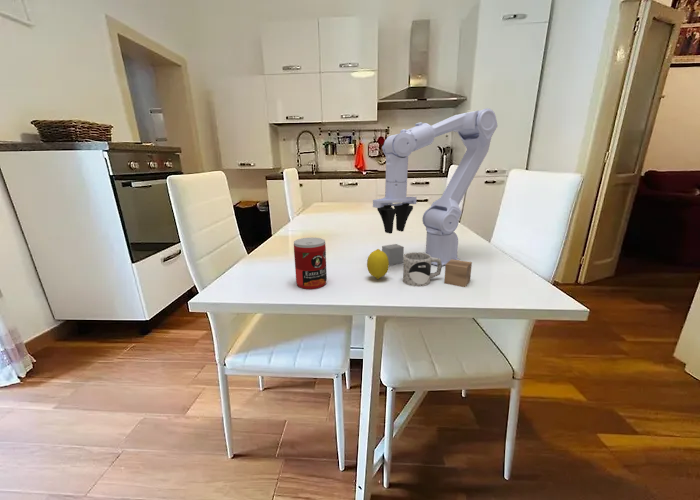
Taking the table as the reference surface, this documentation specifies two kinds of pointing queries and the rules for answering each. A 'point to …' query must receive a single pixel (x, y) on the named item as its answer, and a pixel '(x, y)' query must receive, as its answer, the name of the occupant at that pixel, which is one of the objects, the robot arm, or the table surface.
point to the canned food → (310, 262)
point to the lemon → (377, 263)
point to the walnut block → (457, 272)
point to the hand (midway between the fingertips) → (394, 231)
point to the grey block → (394, 253)
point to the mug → (419, 269)
